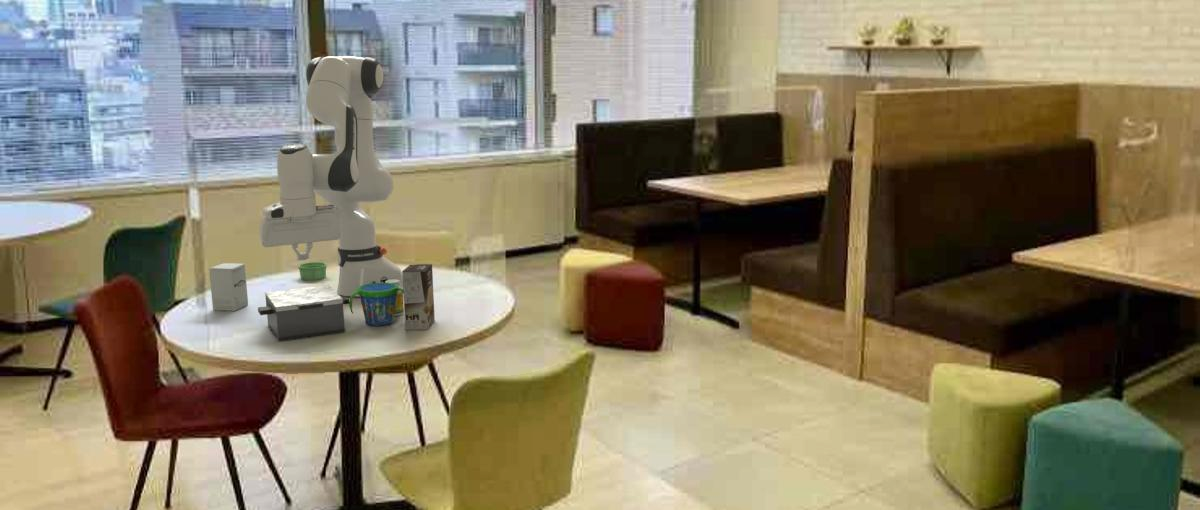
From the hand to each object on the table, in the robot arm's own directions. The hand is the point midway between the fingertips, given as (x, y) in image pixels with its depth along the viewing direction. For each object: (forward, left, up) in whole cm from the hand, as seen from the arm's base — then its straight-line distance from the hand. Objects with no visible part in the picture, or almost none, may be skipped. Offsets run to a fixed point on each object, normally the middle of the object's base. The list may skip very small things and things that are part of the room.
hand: (303, 259), depth 256 cm
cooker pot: (0, -3, -20) cm, 20 cm away
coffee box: (-28, +9, -20) cm, 35 cm away
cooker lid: (0, -2, -12) cm, 12 cm away
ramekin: (-14, -64, -20) cm, 69 cm away
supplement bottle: (-25, -6, -20) cm, 33 cm away
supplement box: (+15, -37, -20) cm, 45 cm away
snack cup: (-19, +1, -20) cm, 27 cm away
